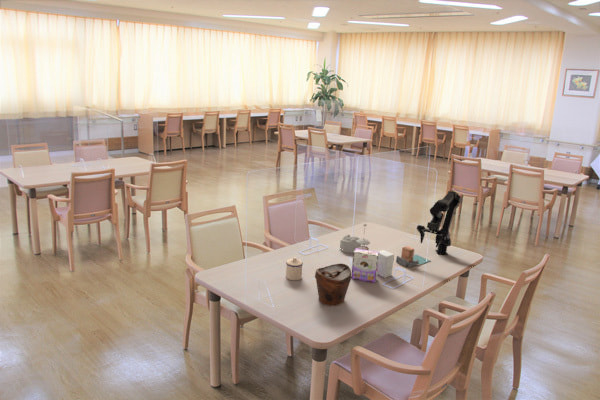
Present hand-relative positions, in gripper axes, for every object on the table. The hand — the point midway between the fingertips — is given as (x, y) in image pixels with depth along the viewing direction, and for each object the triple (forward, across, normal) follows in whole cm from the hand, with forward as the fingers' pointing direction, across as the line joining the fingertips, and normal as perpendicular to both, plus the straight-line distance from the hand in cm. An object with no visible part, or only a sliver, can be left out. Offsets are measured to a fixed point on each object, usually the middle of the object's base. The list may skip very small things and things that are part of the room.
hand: (428, 245), depth 291 cm
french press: (+23, -33, -7) cm, 41 cm away
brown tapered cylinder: (+53, -24, -50) cm, 77 cm away
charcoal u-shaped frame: (+13, -11, +7) cm, 18 cm away
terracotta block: (+13, -11, +7) cm, 18 cm away
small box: (+26, -16, -12) cm, 33 cm away
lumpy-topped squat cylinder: (+15, -49, +4) cm, 51 cm away
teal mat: (+7, -8, +15) cm, 18 cm away
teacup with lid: (+47, -54, -42) cm, 83 cm away
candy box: (+34, -22, -22) cm, 46 cm away
